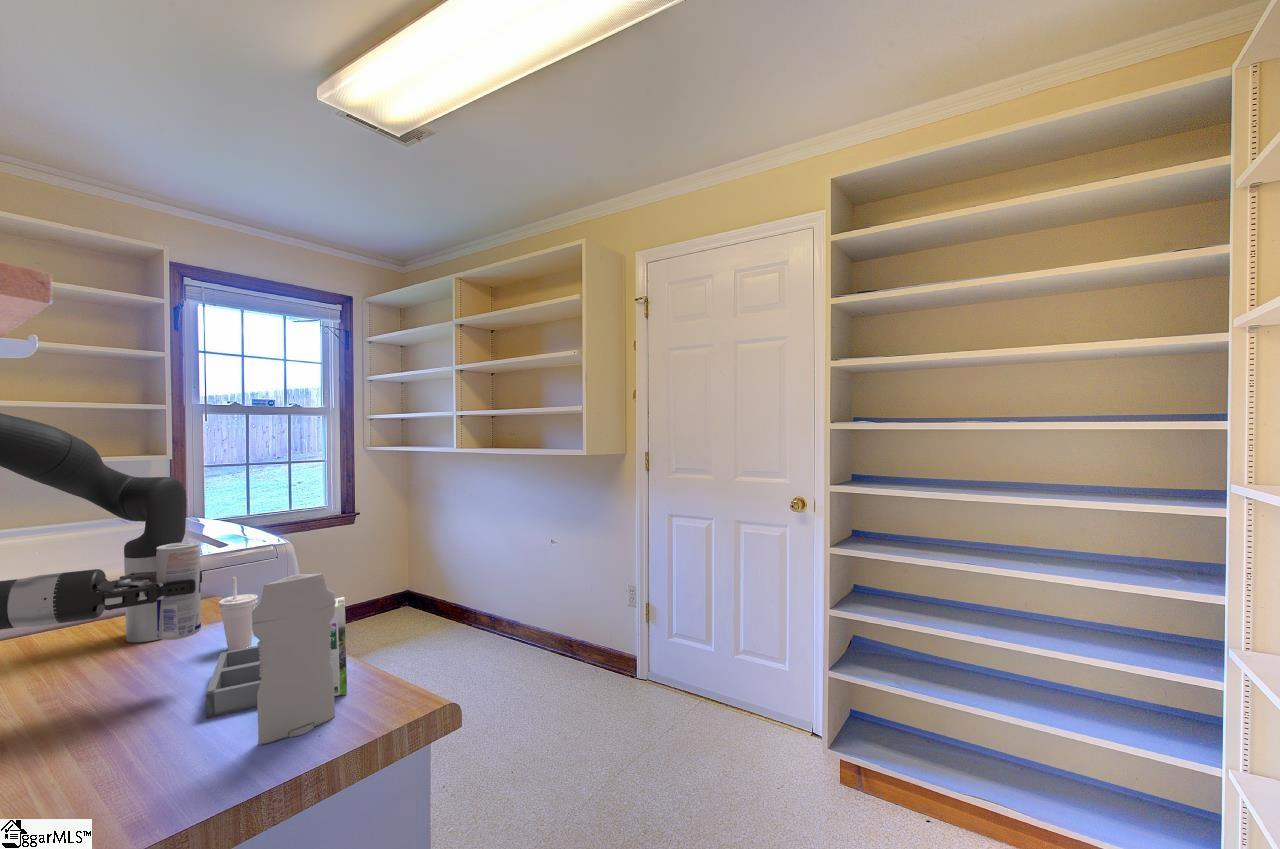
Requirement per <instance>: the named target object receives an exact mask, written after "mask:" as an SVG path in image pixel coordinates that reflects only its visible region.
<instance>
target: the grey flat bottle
mask: <svg viewBox="0 0 1280 849" xmlns="http://www.w3.org/2000/svg"><path fill="white" fill-rule="evenodd" d="M327 584H328V583H327V581H326V578H325V573H324V572H322V573H321V572H320V573H319V572H318V573H309V574H308V573H306V574H305V573H301V574H299V573H298V574H294V575H288V576H286V577H284V578H281V579H278V580H276V581H273V582H269V583H266V584H263V588H262V589H263V590H262V593H261V598H260V600H259V604H258V605H256V608H255V609H254V610H253V611H252V629H253V633H252V636H254V637H255V638H257V639H258V640H259V641H257V643H256V644H257V645H256V646H258V647H259V649H258V651H260V652H259V654H260V656H259V658H260V660H259V661H260V662H259V664H260V667H261V668H260V669H259V670H260V672H259V673H261V674H260V675H259V676H260V677H261V682H260V686H259V689H258V692H257V705H258V707H257V735H258V736H257V737H258V739H257V740H258V741H257V743H258V745H259V746H264V745H270V744H272V743H276V742H279V741H282V740H285V739H288V738H292V737H298V736H302V735H304V734H306V733H308V732H310V731H312V730H313V729H314V728H316V727H319V726H322V725H323V724H325V723H328V722H330V721H331V720H333V719H334V718H335V717H336V716H335V714H336V712H335V711H336V710H335V707H336V706H335V696H334V668H333V665H332V663H331V660H330V656H331V654H330V653H331V651H330V650H331V648H330V647H331V645H330V644H331V643H330V642H331V640H330V639H331V637H330V635H331V633H330V632H331V630H330V629H331V628H332V624H330V621H331V620H332V618H333V616H334V614H335V599H336V592H335V591H333V590H331V589H329V587H328V585H327Z"/></svg>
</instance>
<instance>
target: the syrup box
mask: <svg viewBox="0 0 1280 849" xmlns="http://www.w3.org/2000/svg"><path fill="white" fill-rule="evenodd" d="M345 602H346V601H345V596H342V597H338V598H336V597H335V614H334V616H333V618H332V620H331V621H330V624H332V628H331V629H330V630H331V632H330V633H331V635H330V637H331V639H330V640H331V642H330V643H331V644H330V645H331V647H330V648H331V650H330V651H331V653H330V654H331V656H330V660H331V663H332V665H333V668H334V697H338V696H339V697H340V696H343V695H346V694H347V693H348V680H347V679H348V674H347V673H348V671H347V670H348V669H347V665H348V664H347V635H346V634H347V633H346V632H347V631H346V604H345Z"/></svg>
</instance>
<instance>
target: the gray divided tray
mask: <svg viewBox="0 0 1280 849" xmlns="http://www.w3.org/2000/svg"><path fill="white" fill-rule="evenodd" d="M258 649H259V647H258V645H255V646H254V645H253V646H251V647H248V648H243V649H237V650H232V651H228V650H227V651H223V652H222V651H221V652H220V654H219V657H218V659H217V662H216V665H215V667H214V671H213V673H212V676H211V679H210V681H209V685H208V687H207V690H206V693H205V701H206V702H205V710H206V711H205V712H206V714H205V715H206V716H205V718H206V719H210V718H213V717H219V716H223V715H228V714H231V713H235V712H236V713H237V712H240V711H245V710H249V709H254V708H258V705H257V692H258V689H259V686H260V682H261V677H260V676H259V675H260V674H261V673H259V672H260V670H259V669H260V668H261V667H260V664H259V662H260V661H259V660H260V658H259V656H260V654H259V652H260V651H258Z"/></svg>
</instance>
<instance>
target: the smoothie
mask: <svg viewBox="0 0 1280 849" xmlns="http://www.w3.org/2000/svg"><path fill="white" fill-rule="evenodd" d="M237 584H238V583H237V576H233V577H232V596H228V597H225V598H223V599H221V600H219V602H218V609H220V612H221V617H222V623H223V630H224V635H225V639H226V646H227V651H228V650H229V651H232V650H237V649H243V648H247V647H249V646H251V647H252V640H253V629H252V611H253V610H254V609H255V608H256V607H257V605H256V604H257V602H258V601H259V599H258V595H257V594H255V593H247V594H246V593H245V594H238V592H237V591H238V590H237Z"/></svg>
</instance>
